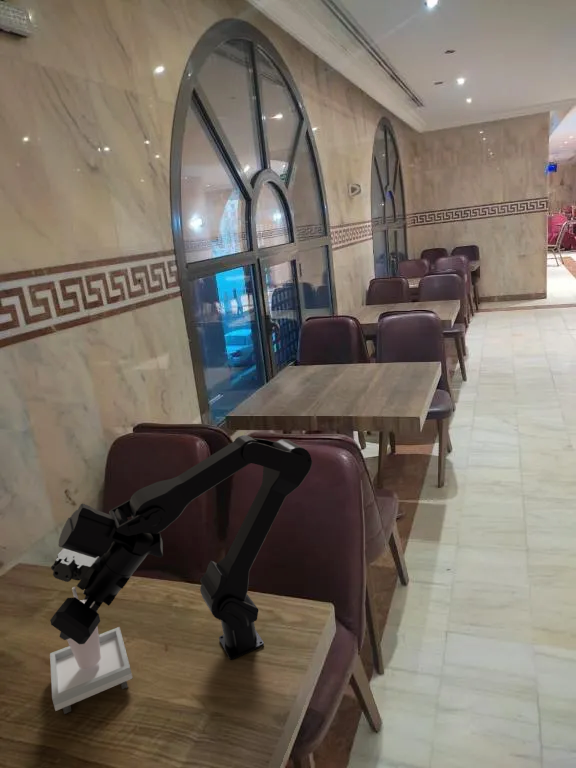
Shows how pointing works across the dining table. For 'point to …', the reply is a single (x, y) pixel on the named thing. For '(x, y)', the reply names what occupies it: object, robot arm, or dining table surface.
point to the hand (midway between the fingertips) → (72, 623)
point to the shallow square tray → (89, 672)
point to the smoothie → (86, 646)
